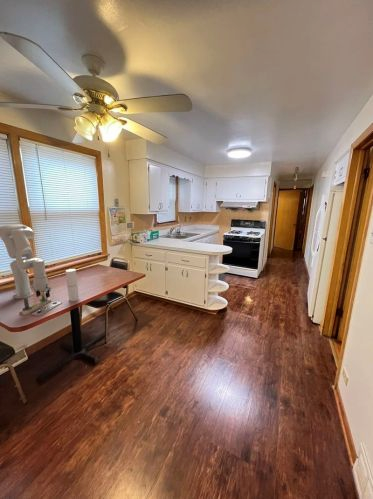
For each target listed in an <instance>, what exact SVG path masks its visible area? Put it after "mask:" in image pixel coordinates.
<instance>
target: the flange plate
mask: <svg viewBox="0 0 373 499" xmlns="http://www.w3.org/2000/svg"><path fill="white" fill-rule="evenodd" d="M62 303H63V302H62V301H56V300H54V301H51V302H49V303H47V304H46V305H44V306H42V308H41V307H40V309H39V308H38V310H36V311H35V312H34V311H33V313H32V312H31V316H38V317H41V316H43V315H44V314H46V313H48V312H49V311H51V310H52V309H55V308H56V307H58V306H59V305H61V304H62ZM42 314H43V315H42Z"/></svg>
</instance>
